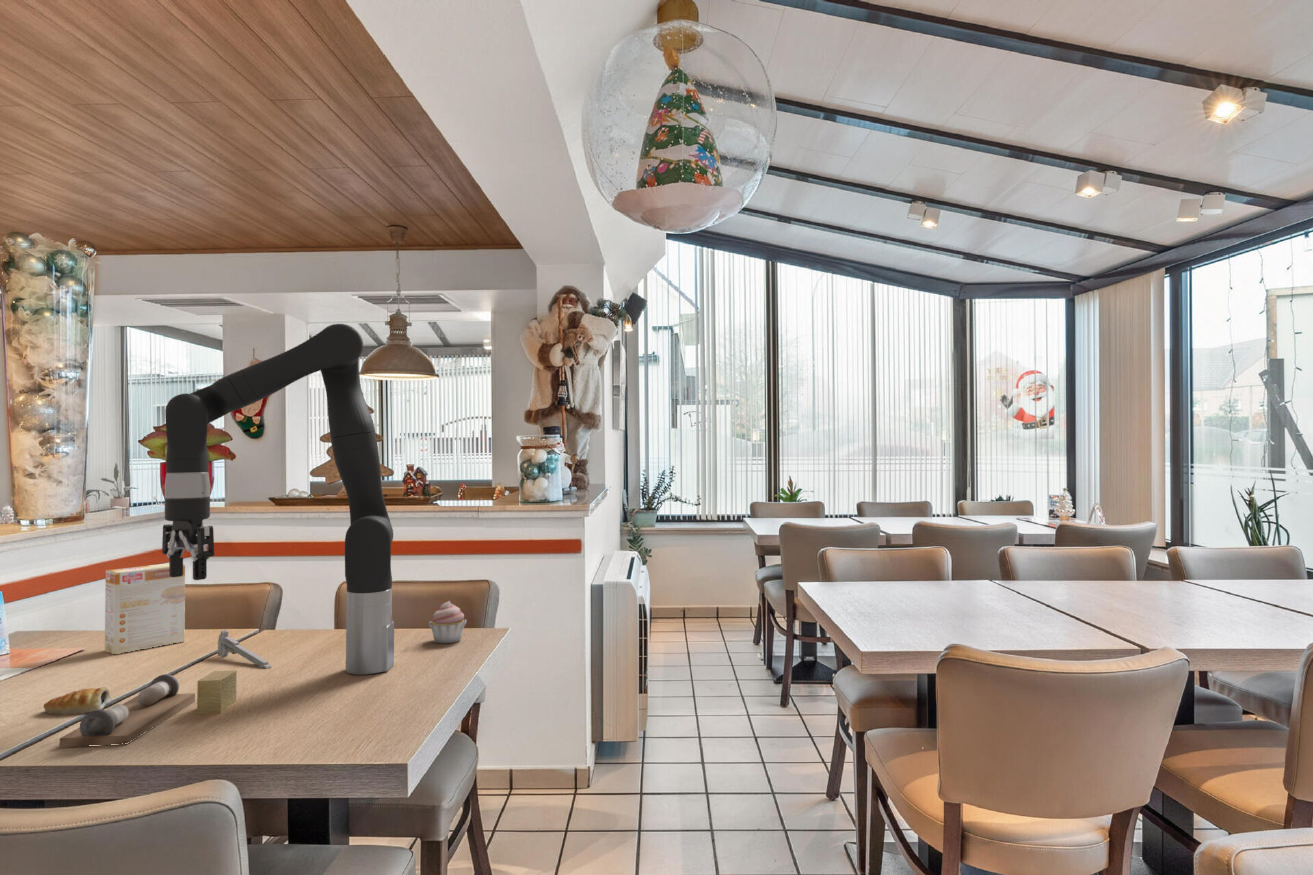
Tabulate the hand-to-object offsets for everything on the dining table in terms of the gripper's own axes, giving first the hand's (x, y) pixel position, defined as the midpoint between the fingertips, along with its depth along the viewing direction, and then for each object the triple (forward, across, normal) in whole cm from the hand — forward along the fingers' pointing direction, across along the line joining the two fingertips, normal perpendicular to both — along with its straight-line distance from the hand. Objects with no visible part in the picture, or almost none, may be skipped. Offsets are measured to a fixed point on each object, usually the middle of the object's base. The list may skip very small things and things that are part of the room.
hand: (187, 578), depth 142 cm
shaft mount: (+22, -8, +13) cm, 27 cm away
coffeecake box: (+22, +47, -14) cm, 54 cm away
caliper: (+23, +13, -18) cm, 32 cm away
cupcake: (+23, -14, -54) cm, 61 cm away
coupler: (+23, -14, +2) cm, 26 cm away
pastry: (+23, +8, +15) cm, 28 cm away
